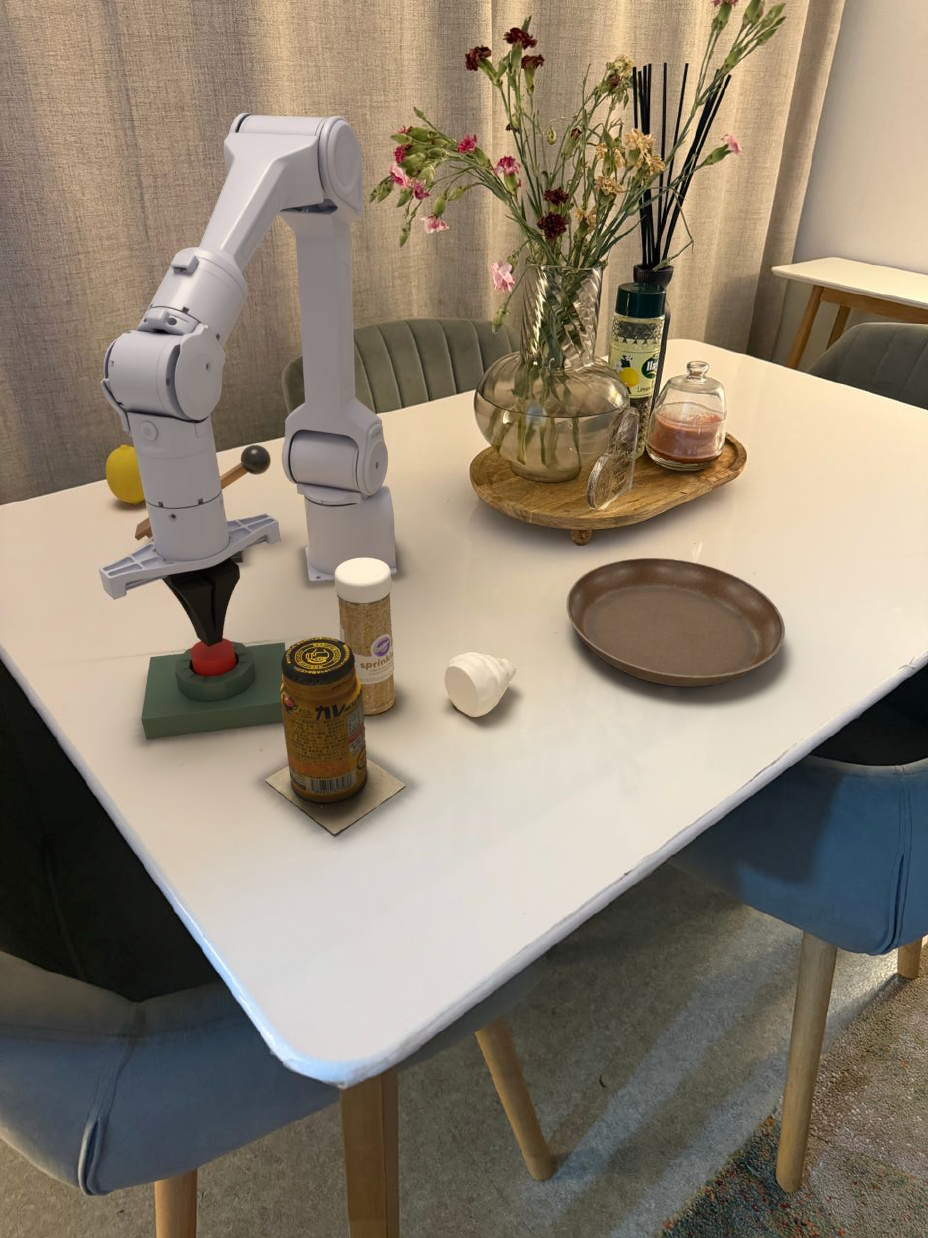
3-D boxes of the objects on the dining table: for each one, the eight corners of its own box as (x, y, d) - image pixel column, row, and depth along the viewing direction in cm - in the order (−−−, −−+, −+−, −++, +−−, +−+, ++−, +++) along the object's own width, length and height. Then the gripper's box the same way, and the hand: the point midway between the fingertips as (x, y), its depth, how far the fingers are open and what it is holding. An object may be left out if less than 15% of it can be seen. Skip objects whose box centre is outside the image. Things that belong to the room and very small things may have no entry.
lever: (276, 457, 99) (258, 434, 97) (277, 468, 96) (258, 445, 94) (152, 540, 101) (132, 519, 99) (150, 553, 98) (129, 532, 97)
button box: (287, 661, 84) (282, 625, 81) (291, 721, 76) (286, 684, 74) (154, 676, 81) (146, 640, 79) (146, 739, 74) (136, 702, 72)
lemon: (146, 516, 108) (133, 455, 104) (104, 512, 109) (90, 451, 105) (167, 497, 113) (156, 438, 109) (127, 493, 114) (114, 434, 110)
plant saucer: (825, 662, 84) (833, 633, 82) (655, 730, 75) (660, 700, 74) (680, 567, 99) (684, 540, 97) (524, 615, 90) (525, 587, 89)
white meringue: (531, 700, 79) (534, 650, 76) (482, 730, 75) (484, 678, 72) (487, 673, 82) (489, 624, 79) (439, 700, 79) (439, 650, 76)
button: (236, 651, 79) (233, 635, 78) (236, 675, 76) (233, 658, 75) (194, 656, 78) (191, 639, 77) (192, 680, 75) (189, 663, 74)
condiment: (336, 738, 74) (324, 618, 68) (406, 787, 70) (401, 663, 63) (265, 782, 70) (245, 658, 63) (334, 837, 65) (321, 710, 58)
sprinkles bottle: (377, 723, 76) (369, 588, 69) (334, 706, 78) (322, 574, 71) (406, 694, 79) (401, 563, 72) (364, 679, 81) (355, 550, 74)
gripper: (241, 453, 74) (260, 591, 82) (69, 501, 66) (107, 650, 74) (286, 479, 70) (302, 623, 77) (107, 535, 62) (144, 689, 69)
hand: (210, 639), depth 75 cm, fingers closed
